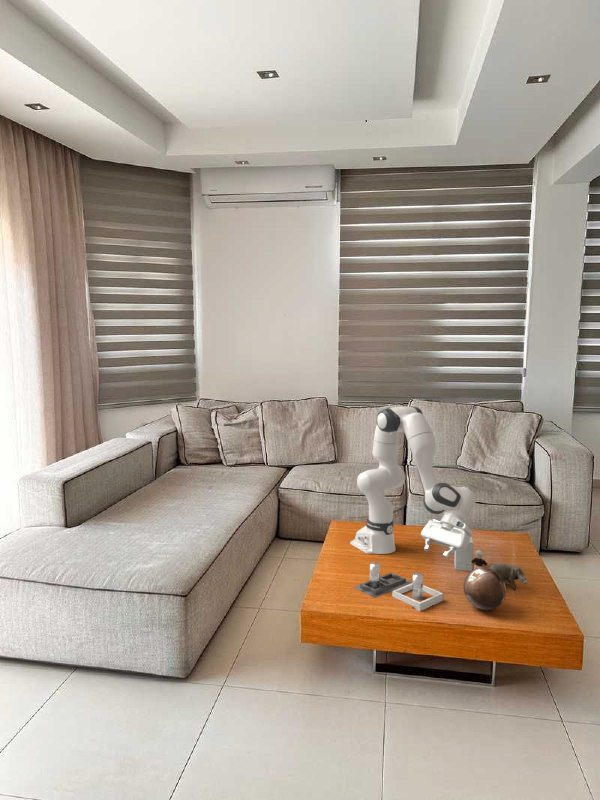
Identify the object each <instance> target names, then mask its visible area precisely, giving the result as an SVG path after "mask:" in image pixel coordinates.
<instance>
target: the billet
mask: <svg viewBox="0 0 600 800" xmlns="http://www.w3.org/2000/svg"><path fill="white" fill-rule="evenodd" d="M411 582H412V590H411V591H412V592H411V593H412V597H411V599H413V600H416V601H418V600H419V601H420V600H421V601H422V600H423V599H424V598H423V597H424V591H423V585H424V574H423V573H422V572H421V573H420V572H414V573H412V581H411Z"/></svg>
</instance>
